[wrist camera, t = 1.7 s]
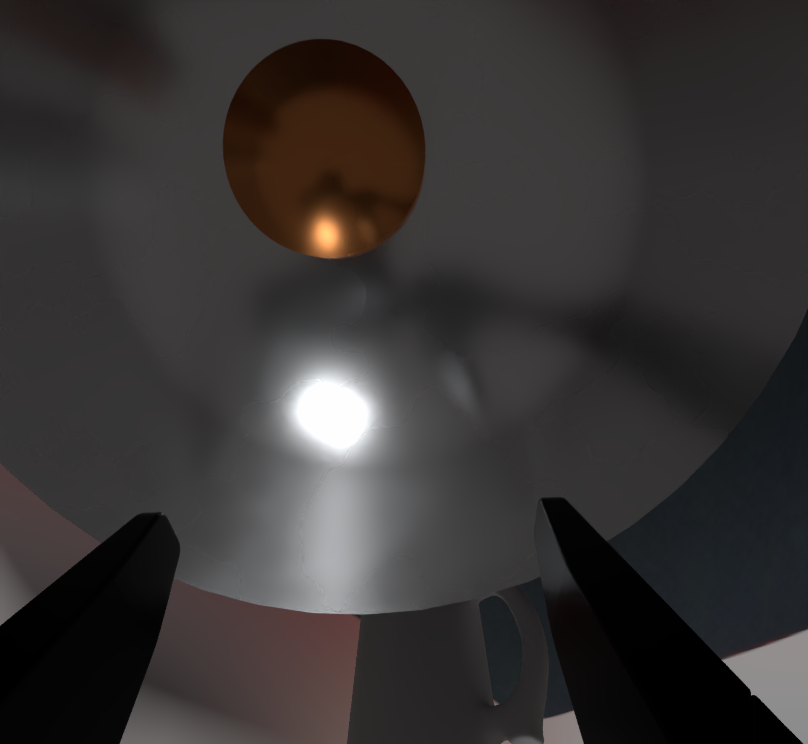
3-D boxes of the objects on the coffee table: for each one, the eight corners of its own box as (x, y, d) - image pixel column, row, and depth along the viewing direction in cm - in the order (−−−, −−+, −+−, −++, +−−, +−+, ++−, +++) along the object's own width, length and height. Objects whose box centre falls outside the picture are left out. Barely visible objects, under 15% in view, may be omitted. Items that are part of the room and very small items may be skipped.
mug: (406, 597, 32) (405, 843, 22) (341, 545, 29) (305, 801, 19) (541, 540, 29) (614, 799, 18) (483, 474, 26) (531, 739, 16)
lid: (865, -493, 7) (1031, -780, 5) (760, 569, 10) (839, 634, 8) (-216, -375, 8) (-426, -592, 6) (5, 589, 11) (-82, 654, 9)
